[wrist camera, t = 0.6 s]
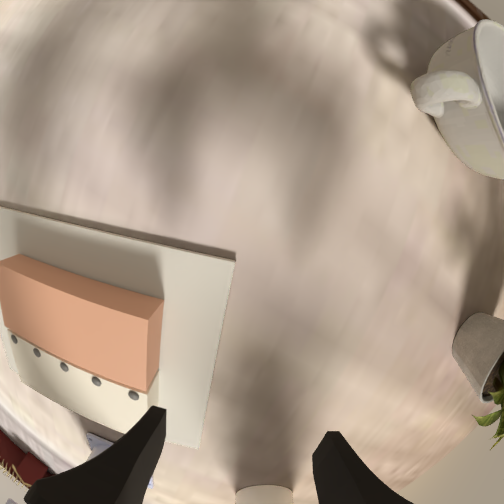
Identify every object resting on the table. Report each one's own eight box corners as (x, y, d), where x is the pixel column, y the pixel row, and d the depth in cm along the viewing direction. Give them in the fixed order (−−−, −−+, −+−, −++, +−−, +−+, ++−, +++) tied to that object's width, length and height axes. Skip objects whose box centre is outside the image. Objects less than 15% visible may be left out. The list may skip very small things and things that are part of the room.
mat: (199, 445, 21) (198, 449, 20) (12, 366, 20) (9, 368, 20) (235, 260, 17) (235, 262, 16) (-8, 204, 16) (-11, 204, 16)
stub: (159, 366, 18) (146, 391, 15) (24, 312, 18) (4, 325, 15) (164, 299, 17) (148, 320, 14) (19, 253, 16) (-5, 262, 13)
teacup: (486, 77, 13) (541, 57, 5) (501, 189, 15) (567, 197, 8) (359, 32, 13) (404, -30, 6) (377, 172, 16) (457, 164, 8)
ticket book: (158, 418, 20) (148, 443, 17) (36, 366, 19) (20, 381, 16) (159, 370, 18) (146, 395, 15) (26, 316, 18) (6, 330, 15)
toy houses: (138, 519, 29) (128, 553, 19) (109, 522, 33) (100, 548, 23) (-36, 378, 23) (-62, 401, 13) (-30, 412, 27) (-48, 431, 17)
